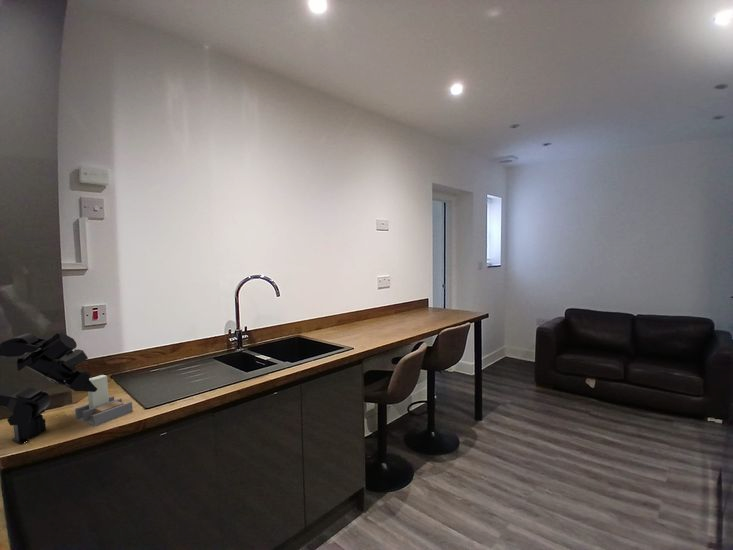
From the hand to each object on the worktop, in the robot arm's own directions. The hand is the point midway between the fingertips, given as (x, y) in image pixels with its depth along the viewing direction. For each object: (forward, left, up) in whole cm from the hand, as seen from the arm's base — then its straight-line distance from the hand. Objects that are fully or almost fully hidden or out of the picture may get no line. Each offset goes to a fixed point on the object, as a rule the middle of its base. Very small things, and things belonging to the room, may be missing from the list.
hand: (89, 387), depth 127 cm
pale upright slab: (+3, 0, -10) cm, 11 cm away
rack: (+3, -3, -11) cm, 11 cm away
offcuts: (+3, -5, -10) cm, 12 cm away
